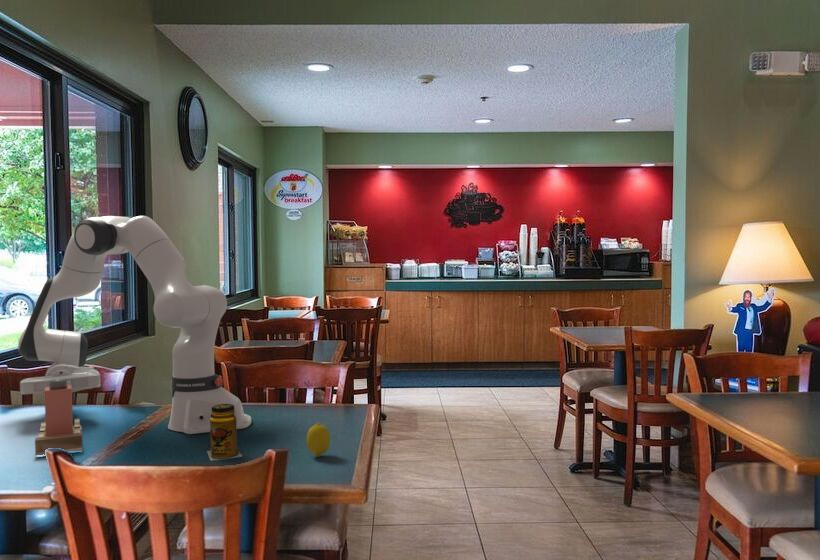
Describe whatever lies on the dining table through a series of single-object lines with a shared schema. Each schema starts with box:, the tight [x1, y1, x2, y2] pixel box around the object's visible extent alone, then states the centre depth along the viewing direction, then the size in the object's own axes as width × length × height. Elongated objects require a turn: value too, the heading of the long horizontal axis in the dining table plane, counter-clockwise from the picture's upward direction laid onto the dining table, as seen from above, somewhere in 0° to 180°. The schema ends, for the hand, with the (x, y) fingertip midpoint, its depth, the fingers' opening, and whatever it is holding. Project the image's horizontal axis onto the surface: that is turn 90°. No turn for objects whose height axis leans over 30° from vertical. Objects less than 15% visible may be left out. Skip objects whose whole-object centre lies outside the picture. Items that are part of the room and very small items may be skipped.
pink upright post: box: [44, 379, 74, 436], centre depth 173 cm, size 5×6×15 cm
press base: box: [34, 418, 83, 456], centre depth 175 cm, size 24×10×4 cm, turn 26°
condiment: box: [206, 404, 243, 462], centre depth 163 cm, size 7×8×12 cm
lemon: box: [306, 422, 331, 458], centre depth 161 cm, size 6×6×8 cm
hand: (60, 387), depth 187 cm, fingers closed
